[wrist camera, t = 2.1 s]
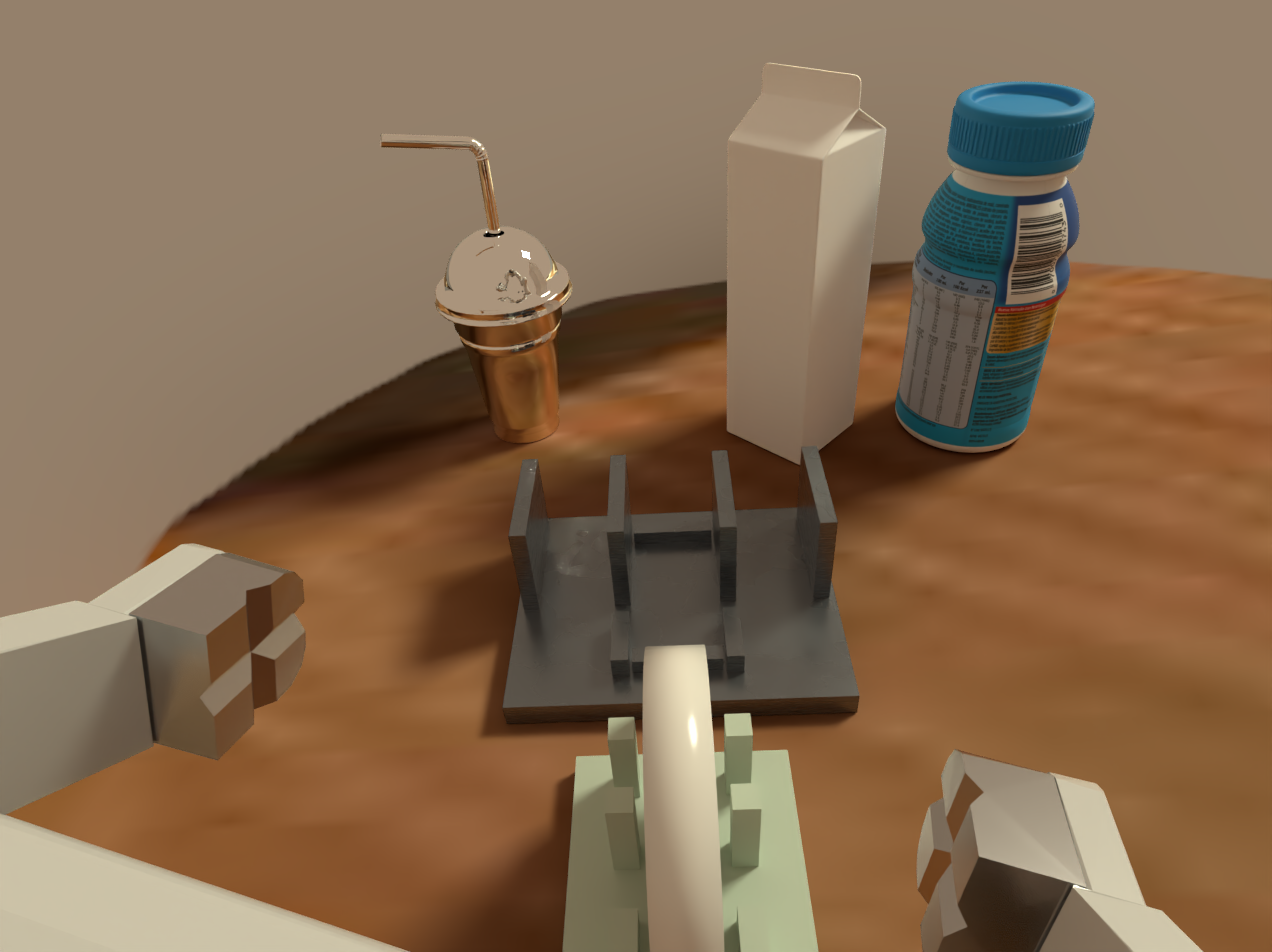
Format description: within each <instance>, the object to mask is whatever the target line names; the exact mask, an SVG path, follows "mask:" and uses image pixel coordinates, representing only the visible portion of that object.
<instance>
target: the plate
mask: <svg viewBox="0 0 1272 952" xmlns="http://www.w3.org/2000/svg"><path fill="white" fill-rule="evenodd" d="M643 791H644V829H645V859H646V885H647V907H648V927H649V944H650V952H724V925H723V902H722V880H721V860H720V841H719V823H718V805H717V788H716V772H715V757H714V742H713V727H712V714H711V701H710V688H709V677H708V666H707V657H706V649H705V645H704V644H703V645H675V646H648V647H645V652H644V665H643Z"/></svg>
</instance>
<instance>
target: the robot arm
mask: <svg viewBox="0 0 1272 952" xmlns="http://www.w3.org/2000/svg"><path fill="white" fill-rule="evenodd" d="M303 603H304V591H303V580H302V579H301V578H300V577H299V576H298V575H297V574H296V573H295V572H293V571H289V570H286V569H282V568H279V567H276V566H272V565H269V564H265V563H262V562H258V561H255V560H252V559H248V558H245V557H241V556H238V555H235V554H231V553H225V552H223V551H220V550H216V549H212V548H209V547H205V546H202V545H198V544H181V545H180V546H178V547H177V548H175V549H174V550H172V551H170V552H169V553H167V554H166V555H164V556H162V557H161V558H159V559H158V560H156V561H154V562H153V563H151V564H150V565H148V566H146V567H145V568H143V569H142V570H140V571H139V572H137V573H135V574H134V575H132V576H131V577H129V578H127V579H126V580H124V581H123V582H121V583H119V584H118V585H116V586H115V587H113V588H111V589H110V590H108V591H107V592H105V593H104V594H102V595H100V596H99V597H97V598H96V599H94V600H93V601H91V602H89V603H84V602H80V601H72V602H68V603H64V604H59V605H54V606H50V607H46V608H41V609H37V610H32V611H28V612H23V613H19V614H15V615H10V616H6V617H1V618H0V952H409V951H406V950H403V949H400V948H397V947H394V946H392V945H389V944H386V943H383V942H380V941H377V940H374V939H371V938H368V937H365V936H362V935H359V934H356V933H353V932H350V931H347V930H344V929H341V928H338V927H335V926H332V925H329V924H326V923H323V922H320V921H317V920H315V919H312V918H309V917H306V916H303V915H300V914H297V913H294V912H291V911H288V910H285V909H282V908H279V907H276V906H273V905H270V904H267V903H264V902H261V901H258V900H255V899H252V898H249V897H246V896H243V895H240V894H238V893H235V892H232V891H229V890H226V889H223V888H220V887H217V886H214V885H211V884H208V883H205V882H202V881H199V880H196V879H193V878H190V877H187V876H184V875H181V874H178V873H175V872H172V871H169V870H166V869H163V868H161V867H158V866H155V865H152V864H149V863H146V862H143V861H140V860H137V859H134V858H131V857H128V856H125V855H122V854H119V853H116V852H113V851H110V850H107V849H104V848H101V847H98V846H95V845H92V844H89V843H87V842H84V841H81V840H78V839H75V838H72V837H69V836H66V835H63V834H60V833H57V832H54V831H51V830H48V829H45V828H42V827H39V826H36V825H33V824H30V823H27V822H24V821H21V820H18V819H15V818H12V817H10V816H7V815H6V814H8V813H10V812H12V811H14V810H16V809H19V808H21V807H23V806H25V805H27V804H29V803H32V802H34V801H36V800H38V799H40V798H42V797H45V796H47V795H49V794H51V793H53V792H56V791H58V790H60V789H62V788H64V787H66V786H69V785H71V784H73V783H75V782H77V781H79V780H82V779H84V778H86V777H88V776H90V775H92V774H95V773H97V772H99V771H101V770H103V769H105V768H108V767H110V766H112V765H114V764H116V763H118V762H121V761H123V760H125V759H127V758H129V757H131V756H134V755H136V754H138V753H140V752H142V751H144V750H147V749H149V748H151V747H153V745H154V744H153V743H157V744H161V745H164V746H168V747H171V748H175V749H179V750H182V751H186V752H189V753H193V754H197V755H200V756H204V757H207V758H211V759H215V760H219V759H220V758H221V757H222V756H223V755H224V754H225V753H226V752H227V751H228V750H229V749H230V748H231V747H232V746H233V745H234V744H235V743H236V742H237V741H238V740H239V739H240V738H241V737H242V736H243V735H244V734H245V733H246V732H247V731H248V730H249V729H250V728H251V727H252V726H253V725H254V709H256V708H259V707H262V706H264V705H267V704H270V703H273V702H275V701H277V700H278V699H279V698H280V697H281V696H282V695H283V694H284V693H285V692H286V691H287V690H288V689H289V687H290V686H291V685H292V683H293V681H294V679H295V677H296V675H297V673H298V671H299V670H300V668H301V666H302V662H303V657H304V652H305V648H306V641H305V630H304V628H303V627H302V625H301V623H300V622H299V620H298V619H297V617H296V616H295V614H294V613H295V612H296V611H297V609H298V608H299V607H300V606H301V605H302V604H303ZM941 777H942V786H943V795H944V798H942V799H940V800H938V801H936V802H935V803H933V804H931V805H930V806H929V809H928V812H927V815H926V818H925V821H924V824H923V826H922V831H921V836H920V841H919V846H918V852H917V885H918V891H919V892H920V894H921V895H922V896H923V898H924V899H925V901H926V902H927V903H928V907H927V910H926V912H925V915H924V917H923V920H922V922H921V925H920V926H921V938H922V950H923V952H1203V951H1202V950H1201V949H1200V948H1199V947H1198V946H1197V945H1196V944H1195V943H1194V942H1193V941H1192V940H1191V939H1190V938H1189V937H1188V936H1187V935H1186V934H1185V933H1184V932H1183V931H1182V930H1181V929H1180V928H1179V927H1178V926H1177V925H1176V924H1175V923H1174V922H1172V921H1171V920H1170V919H1169V918H1168V917H1167V916H1166V915H1165V914H1164V913H1163V912H1162V911H1161V910H1157V909H1154V908H1151V907H1147V906H1146V904H1145V901H1144V899H1143V896H1142V893H1141V891H1140V888H1139V885H1138V882H1137V880H1136V877H1135V874H1134V872H1133V869H1132V866H1131V864H1130V861H1129V858H1128V856H1127V853H1126V850H1125V848H1124V845H1123V842H1122V840H1121V837H1120V834H1119V831H1118V829H1117V826H1116V823H1115V821H1114V818H1113V815H1112V813H1111V810H1110V807H1109V805H1108V802H1107V799H1106V797H1105V794H1104V791H1103V790H1102V789H1101V788H1100V787H1099V786H1098V785H1097V784H1096V783H1092V782H1088V781H1084V780H1079V779H1075V778H1071V777H1067V776H1063V775H1059V774H1054V773H1050V772H1048V773H1044V772H1040V771H1036V770H1032V769H1029V768H1025V767H1021V766H1017V765H1013V764H1010V763H1006V762H1002V761H998V760H994V759H991V758H987V757H983V756H979V755H975V754H972V753H968V752H964V751H960V750H956V749H955V750H954V751H953V753H952V754H951V755H950V757H949V758H948V760H947V763H946V765H945V768H944V770H943V773H942V775H941Z"/></svg>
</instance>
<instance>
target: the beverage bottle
mask: <svg viewBox="0 0 1272 952" xmlns="http://www.w3.org/2000/svg"><path fill="white" fill-rule="evenodd" d="M1094 106H1095V103H1094V100H1093V98H1092V97H1091V96H1090V95H1088V94H1087V93H1085V92H1083V91H1081V90H1078V89H1075V88H1071V87H1068V86H1063V85H1057V84H1051V83H1041V82H1001V83H992V84H986V85H980V86H977V87H973V88H970V89H968V90H966V91H964V92H963V93H961V94H960V95H959V97H958V98H957V101H956V105H955V106H954V108H953V115H952V121H951V127H950V134H949V142H948V149H947V152H948V160H949V163H950V164H951V165H952V166H953V167H955V168H956V169H955V170H954V171H953V172H952V173H951V174H950V175H949V176H948V178H947V179H946V180H945V181H944V182H943V184H942V185H941V186H940V188H939V189H938V190H937V192H936V193H935V195H934V196H933V198H932V199H931V201H930V203H929V205H928V207H927V209H926V211H925V214H924V216H923V220H922V231H923V233H924V236H925V242H924V243H923V245H922V246H921V248H920V249H919V250H918V252H917V254H916V257H915V261H914V265H913V272H912V278H913V283H914V287H913V294H912V301H911V308H910V316H909V323H908V330H907V337H906V344H905V351H904V358H903V365H902V371H901V377H900V383H899V388H898V392H897V397H896V404H895V410H896V415H897V418H898V420H899V422H900V423H901V425H902V426H903V427H904V428H905V429H906V430H907V431H908V432H909V433H910V434H911V435H913V436H914V437H916V438H917V439H919V440H921V441H923V442H925V443H927V444H929V445H932V446H935V447H938V448H941V449H945V450H950V451H956V452H967V453H976V452H987V451H992V450H996V449H1000V448H1003V447H1005V446H1007V445H1009V444H1011V443H1013V442H1014V441H1016V440H1017V439H1018V438H1019V437H1020V436H1021V435H1022V433H1023V432H1024V430H1025V428H1026V426H1027V423H1028V419H1029V415H1030V410H1031V404H1032V401H1033V398H1034V394H1035V390H1036V386H1037V383H1038V379H1039V375H1040V372H1041V368H1042V365H1043V361H1044V357H1045V354H1046V350H1047V347H1048V343H1049V339H1050V336H1051V332H1052V329H1053V325H1054V321H1055V318H1056V314H1057V311H1058V307H1059V303H1060V300H1061V297H1062V296H1063V294H1064V293H1065V291H1066V288H1067V285H1068V281H1069V275H1070V264H1069V261H1068V257H1067V251H1068V250H1069V249H1070V248H1071V247H1072V246H1073V245H1074V243H1075V242H1076V240H1077V238H1078V234H1079V214H1078V208H1077V204H1076V200H1075V197H1074V194H1073V191H1072V189H1071V186H1070V184H1069V182H1068V180H1067V178H1066V175H1068V174H1070V173H1072V172H1073V171H1075V170H1076V169H1077V167H1078V165H1079V163H1080V161H1081V160H1082V158H1083V155H1084V151H1085V147H1086V145H1087V141H1088V137H1089V133H1090V129H1091V125H1092V121H1093V117H1094Z"/></svg>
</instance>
